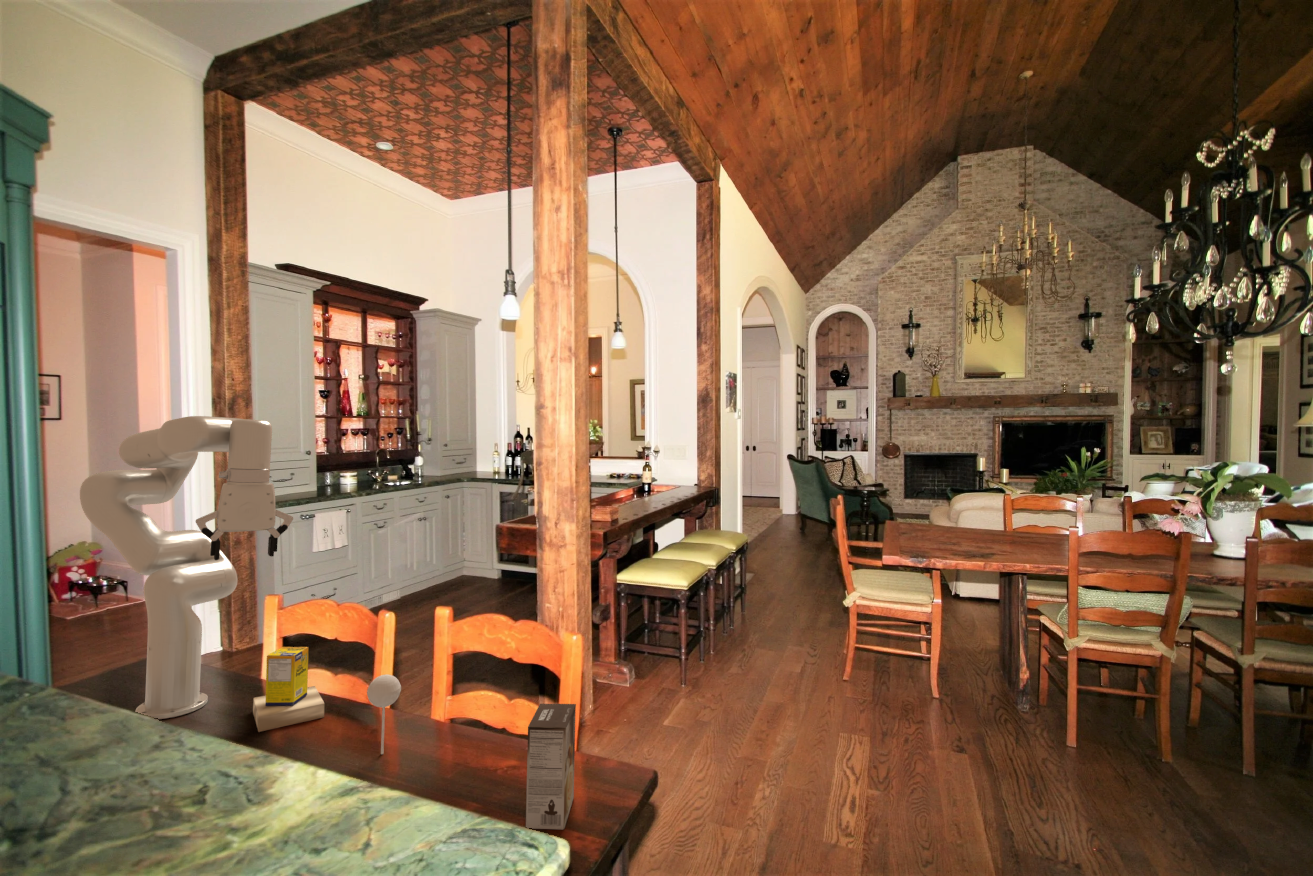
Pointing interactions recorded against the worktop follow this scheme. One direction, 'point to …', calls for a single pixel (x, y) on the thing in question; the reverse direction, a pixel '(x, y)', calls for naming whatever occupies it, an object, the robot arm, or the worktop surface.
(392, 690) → the lollipop
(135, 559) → the robot arm
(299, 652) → the supplement box
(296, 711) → the block
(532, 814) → the coffee box
